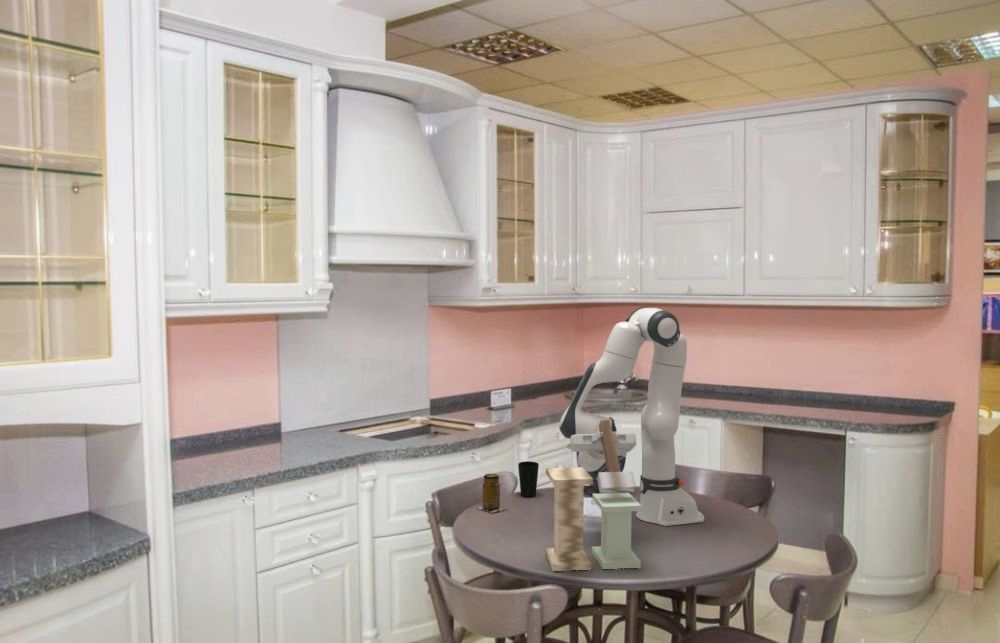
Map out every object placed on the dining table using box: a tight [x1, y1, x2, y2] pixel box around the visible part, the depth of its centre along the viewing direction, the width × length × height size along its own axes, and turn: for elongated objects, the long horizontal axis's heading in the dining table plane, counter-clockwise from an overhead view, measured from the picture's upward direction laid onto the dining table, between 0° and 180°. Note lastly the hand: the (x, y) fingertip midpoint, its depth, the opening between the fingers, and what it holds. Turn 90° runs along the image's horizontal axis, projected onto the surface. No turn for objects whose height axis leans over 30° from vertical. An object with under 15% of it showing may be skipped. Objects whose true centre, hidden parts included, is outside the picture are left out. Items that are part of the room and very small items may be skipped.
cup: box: [517, 461, 540, 499], centre depth 292 cm, size 8×8×12 cm
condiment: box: [477, 473, 501, 514], centre depth 276 cm, size 7×8×12 cm
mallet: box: [597, 420, 636, 493], centre depth 233 cm, size 10×23×3 cm
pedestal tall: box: [545, 466, 593, 572], centre depth 225 cm, size 11×13×26 cm
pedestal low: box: [591, 492, 642, 570], centre depth 227 cm, size 11×13×18 cm
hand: (607, 434), depth 236 cm, fingers closed on mallet, 3 cm apart
